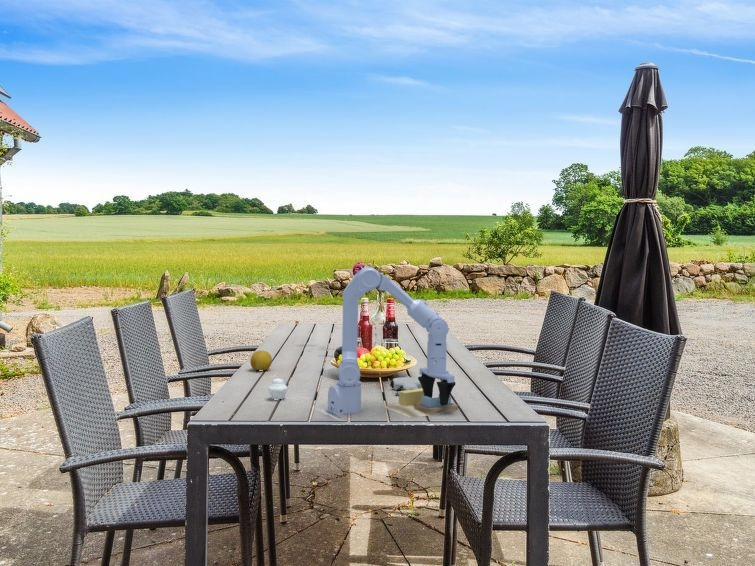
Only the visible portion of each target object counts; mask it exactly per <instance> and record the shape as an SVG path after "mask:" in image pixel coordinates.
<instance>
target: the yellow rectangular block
mask: <svg viewBox="0 0 755 566" xmlns="http://www.w3.org/2000/svg"><path fill="white" fill-rule="evenodd" d="M422 396H424V393H423V389H422V388H420V389H413V390H405V391H399V395H398V404H400V405H402V406H409V405H414V404H418V403H422Z"/></svg>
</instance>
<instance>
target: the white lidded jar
mask: <svg viewBox="0 0 755 566" xmlns="http://www.w3.org/2000/svg"><path fill="white" fill-rule="evenodd" d="M287 392H288V386H287V385H286V384H285V383H284V380H283V379H282V378H279V377H277V378H273V380H272V381H271V384H270V385H269V386H268V393H269V395H270V397H271V399H272V400H273V399H278V400H277V401H280V400H279V399H282V400H284V398H285V396H286V394H287Z"/></svg>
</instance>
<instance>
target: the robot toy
mask: <svg viewBox="0 0 755 566" xmlns="http://www.w3.org/2000/svg"><path fill="white" fill-rule="evenodd" d="M387 381H388V383H389V384H388V385H389V386H390V387H391V388H392V390H394V391H395V392H394V394H395V395H397V396H399V391H405V390H413V389H420V388H422V386H421V384H420V382H419V380H418V377H407V376H405V377H395V378H393V379H392V380H391V381H390V379H389V378H388V379H387Z"/></svg>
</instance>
